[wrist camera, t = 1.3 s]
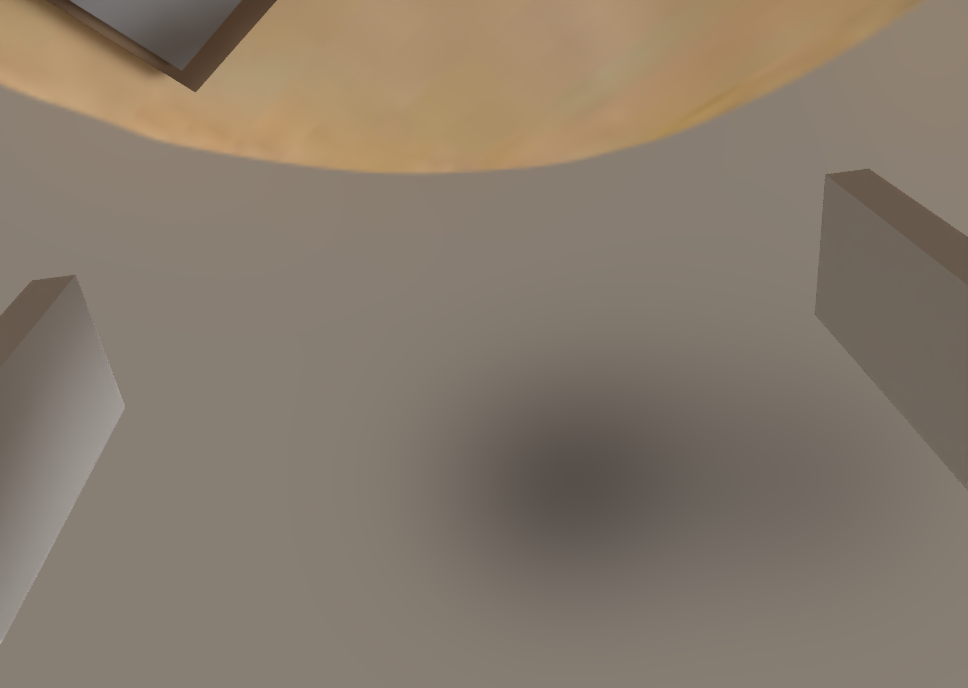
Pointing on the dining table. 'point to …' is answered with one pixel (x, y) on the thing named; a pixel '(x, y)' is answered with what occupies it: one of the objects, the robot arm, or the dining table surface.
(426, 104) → the dining table surface
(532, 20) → the dining table surface
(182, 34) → the plinth
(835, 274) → the robot arm
